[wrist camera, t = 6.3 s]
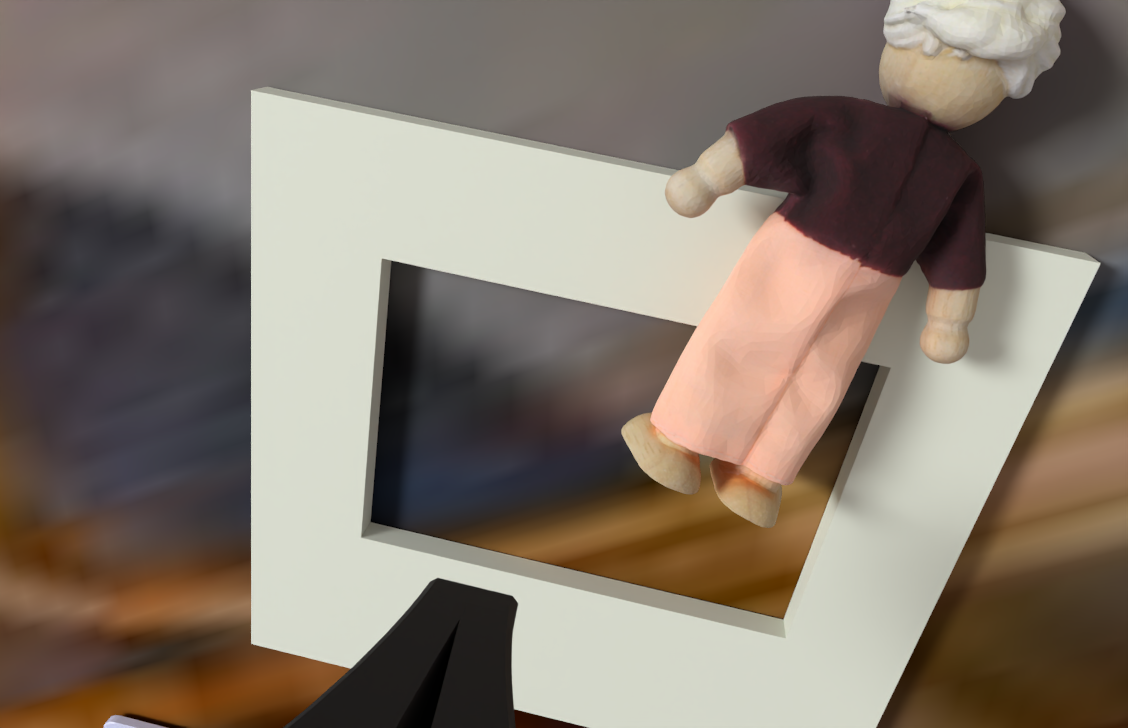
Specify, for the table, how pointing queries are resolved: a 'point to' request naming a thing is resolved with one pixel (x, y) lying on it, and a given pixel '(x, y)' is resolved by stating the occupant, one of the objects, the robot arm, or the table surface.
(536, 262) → the pale rectangular frame
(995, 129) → the table surface
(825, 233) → the grandmother figurine
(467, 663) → the robot arm
